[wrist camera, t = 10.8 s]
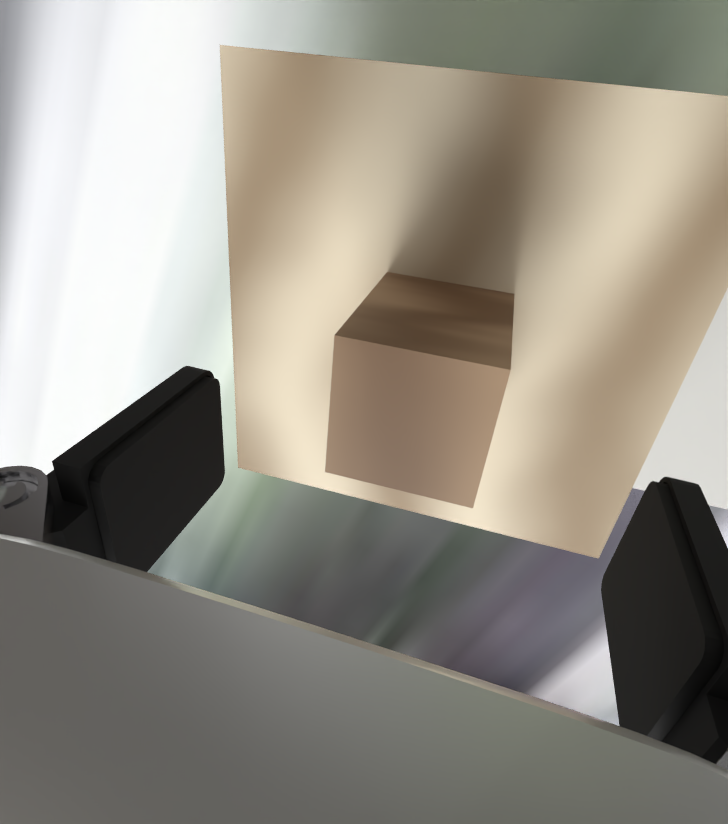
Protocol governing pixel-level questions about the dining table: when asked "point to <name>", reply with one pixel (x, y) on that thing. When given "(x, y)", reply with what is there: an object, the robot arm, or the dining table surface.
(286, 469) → the birch lid
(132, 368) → the dining table surface
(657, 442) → the grey mat
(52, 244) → the dining table surface
